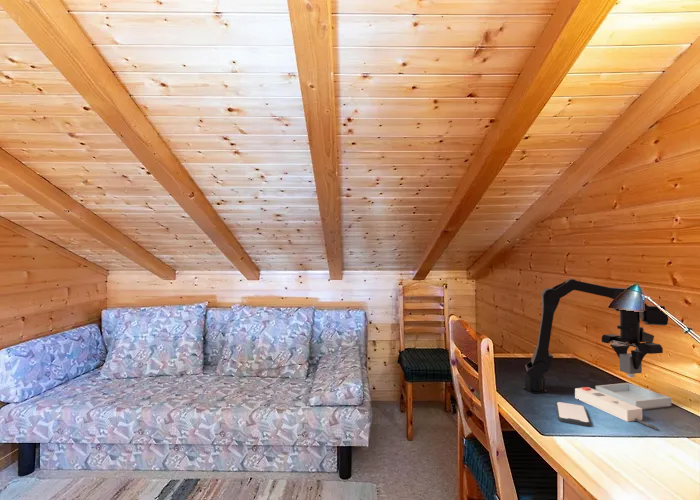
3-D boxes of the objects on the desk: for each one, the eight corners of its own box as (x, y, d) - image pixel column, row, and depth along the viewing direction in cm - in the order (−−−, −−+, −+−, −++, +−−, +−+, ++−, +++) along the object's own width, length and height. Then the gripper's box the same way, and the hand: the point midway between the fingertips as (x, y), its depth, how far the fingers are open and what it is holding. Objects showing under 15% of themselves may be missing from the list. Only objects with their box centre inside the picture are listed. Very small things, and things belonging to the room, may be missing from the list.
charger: (641, 378, 133) (641, 355, 133) (630, 379, 131) (630, 356, 132) (631, 374, 136) (630, 353, 137) (619, 375, 135) (619, 353, 135)
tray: (636, 410, 127) (636, 401, 127) (595, 393, 142) (595, 385, 142) (671, 406, 130) (671, 397, 130) (628, 390, 145) (628, 382, 146)
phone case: (555, 405, 132) (557, 422, 118) (555, 400, 132) (557, 417, 118) (584, 410, 128) (591, 428, 114) (584, 405, 128) (591, 423, 114)
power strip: (665, 429, 113) (665, 415, 113) (649, 431, 111) (649, 417, 111) (588, 396, 139) (588, 385, 139) (575, 398, 137) (575, 386, 137)
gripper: (675, 327, 127) (676, 373, 127) (623, 318, 145) (624, 359, 145) (649, 329, 125) (649, 376, 124) (600, 319, 143) (600, 361, 142)
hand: (630, 367), depth 134 cm, fingers closed on charger, 4 cm apart
